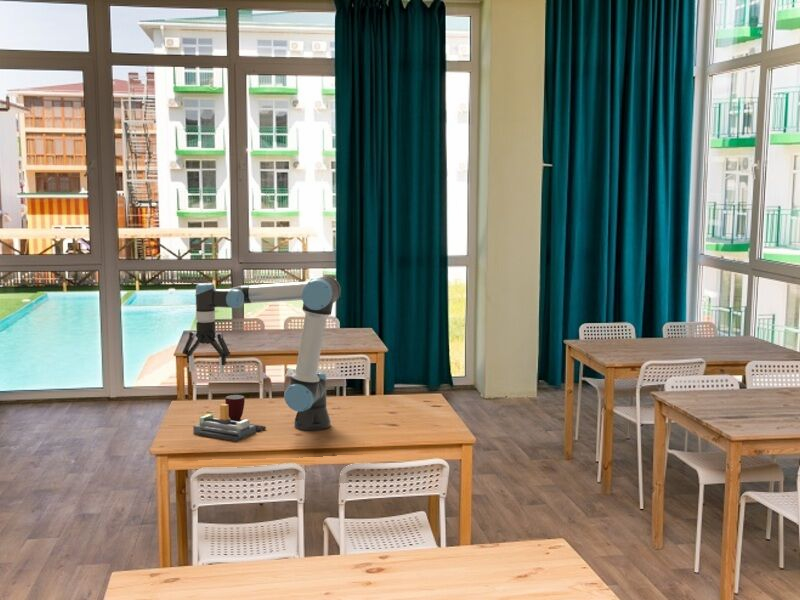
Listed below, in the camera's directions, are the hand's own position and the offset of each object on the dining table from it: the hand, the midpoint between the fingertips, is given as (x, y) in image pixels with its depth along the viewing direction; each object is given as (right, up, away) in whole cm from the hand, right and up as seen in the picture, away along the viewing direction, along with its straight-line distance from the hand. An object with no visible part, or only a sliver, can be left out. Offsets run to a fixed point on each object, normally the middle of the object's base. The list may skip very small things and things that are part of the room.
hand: (206, 372), depth 362 cm
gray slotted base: (+8, -24, -5) cm, 26 cm away
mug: (+8, -22, +15) cm, 28 cm away
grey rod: (+12, -24, +3) cm, 27 cm away
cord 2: (+13, -23, +5) cm, 27 cm away
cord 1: (+7, -25, -12) cm, 29 cm away
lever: (+8, -21, -5) cm, 23 cm away
